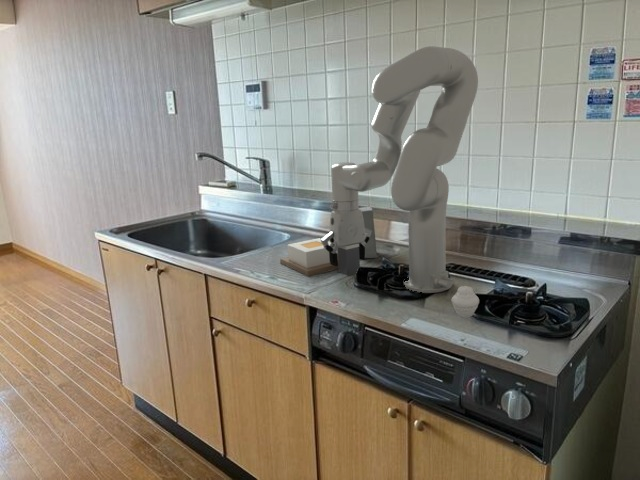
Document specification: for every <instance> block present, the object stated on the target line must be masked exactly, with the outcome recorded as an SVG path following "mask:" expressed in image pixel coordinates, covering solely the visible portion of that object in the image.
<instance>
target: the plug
mask: <svg viewBox="0 0 640 480" xmlns="http://www.w3.org/2000/svg"><path fill="white" fill-rule="evenodd" d="M360 260H361V259H360V258H359V243H356V244H352V245H347V246H343V247H340V246H339V247H338V266H339V269H338V272H339V273H340V274H343V275H346V276H350V275H354V274H357V273H356V272H357V269H358V268H360V269H361V262H360Z"/></svg>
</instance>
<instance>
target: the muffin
mask: <svg viewBox="0 0 640 480" xmlns="http://www.w3.org/2000/svg"><path fill="white" fill-rule="evenodd" d="M450 302H451V303H452V307H453V309H454V311H455V312H456V313H457V315H458V316H459V317H462V318H470V317H472V316H473V315H474V313H475V312H476V310H477V309H478V307H479V304H480V299H479V297H478V296H477V295H476V293H475V292H474V288H473V287H471V286H468V285H461V286H459V287H458V288H457V291H456V292H455V294H454V295H453V296H452V297H451V301H450Z"/></svg>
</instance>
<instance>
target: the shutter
mask: <svg viewBox="0 0 640 480" xmlns="http://www.w3.org/2000/svg"><path fill="white" fill-rule="evenodd" d="M302 246H304V247H307V248H314V247H318V246H323V244H321V243H318V242H313V243H308V244H303V245H302Z"/></svg>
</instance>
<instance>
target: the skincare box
mask: <svg viewBox="0 0 640 480" xmlns="http://www.w3.org/2000/svg"><path fill="white" fill-rule="evenodd" d="M359 209H361V211H362V214H363V219H364V227H365V228H366V229H369V230H371V231H372V232H371V235H370V237H369V241H368V242H367V246H366V247H365V259H378V252H377V251H378V250H377V241H376V229H375V222H374V211H373V210H374V209H373V208H372V206H365V207H363V206H362V207H359Z"/></svg>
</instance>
